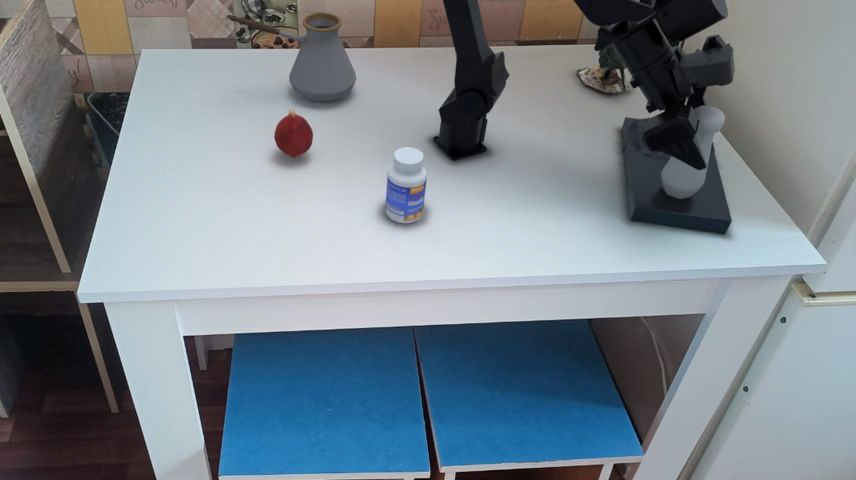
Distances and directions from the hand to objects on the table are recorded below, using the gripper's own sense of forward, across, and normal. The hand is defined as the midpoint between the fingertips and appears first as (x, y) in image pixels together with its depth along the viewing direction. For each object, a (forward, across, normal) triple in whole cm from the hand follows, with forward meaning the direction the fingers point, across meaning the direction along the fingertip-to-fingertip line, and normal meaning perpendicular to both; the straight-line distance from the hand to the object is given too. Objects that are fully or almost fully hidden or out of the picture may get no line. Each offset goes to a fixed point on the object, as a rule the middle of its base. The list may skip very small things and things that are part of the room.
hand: (706, 150), depth 100 cm
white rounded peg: (+4, 0, +6) cm, 8 cm away
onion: (-33, -14, +47) cm, 59 cm away
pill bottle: (-18, -19, +32) cm, 42 cm away
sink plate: (+5, +6, +9) cm, 12 cm away
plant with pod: (-5, +30, +19) cm, 36 cm away
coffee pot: (-39, +2, +53) cm, 66 cm away
